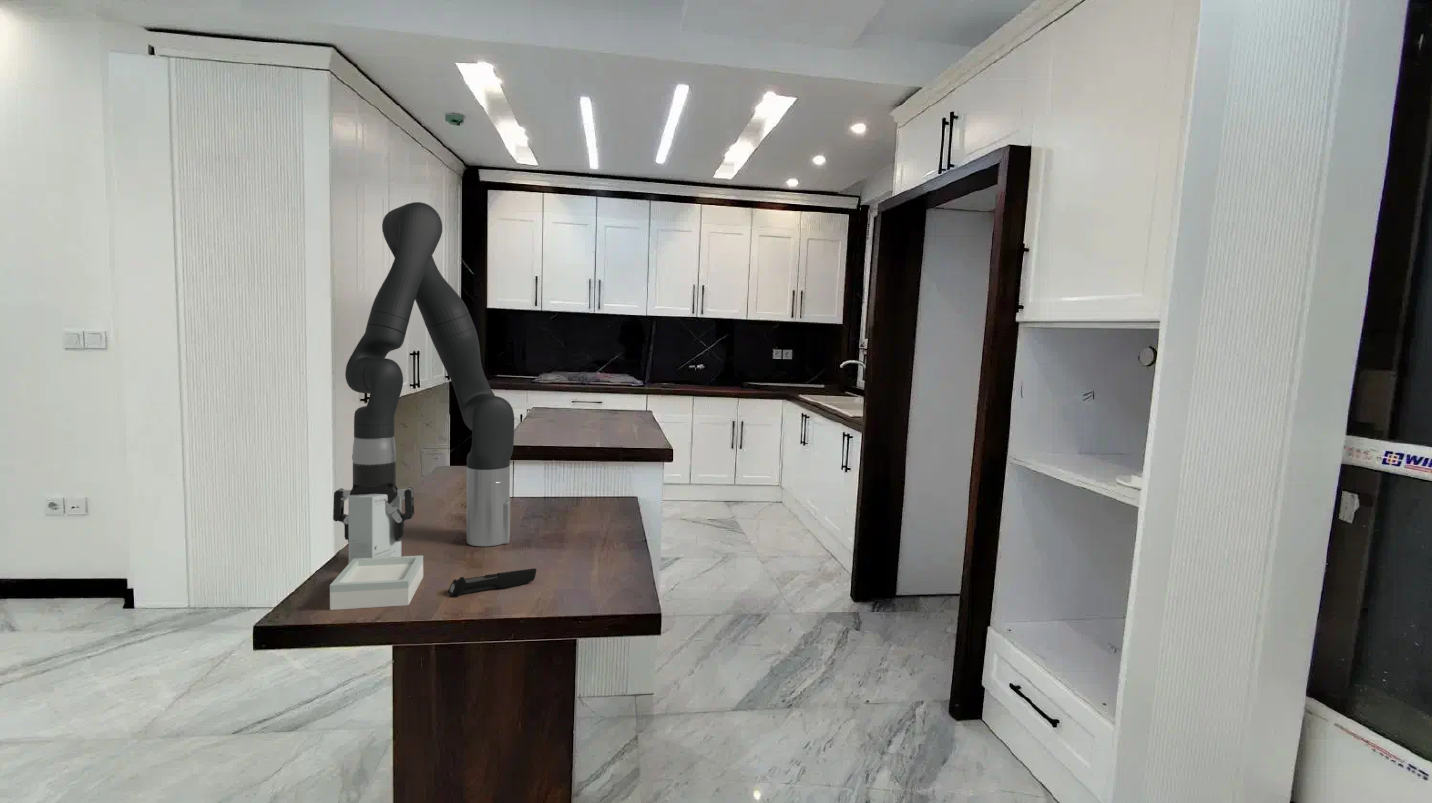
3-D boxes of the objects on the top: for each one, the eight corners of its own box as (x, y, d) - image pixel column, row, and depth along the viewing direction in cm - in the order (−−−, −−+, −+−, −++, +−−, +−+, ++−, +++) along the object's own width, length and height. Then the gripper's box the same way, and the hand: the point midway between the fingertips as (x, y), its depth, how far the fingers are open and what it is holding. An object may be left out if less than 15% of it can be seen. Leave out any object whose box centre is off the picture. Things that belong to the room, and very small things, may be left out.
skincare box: (372, 574, 126) (372, 498, 125) (346, 570, 128) (346, 495, 127) (403, 561, 134) (403, 489, 133) (378, 557, 136) (378, 486, 135)
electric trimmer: (538, 587, 124) (539, 570, 124) (451, 600, 116) (451, 582, 116) (532, 580, 127) (533, 564, 127) (447, 592, 119) (447, 575, 119)
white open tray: (423, 576, 126) (423, 555, 126) (408, 605, 112) (408, 581, 112) (353, 580, 123) (353, 558, 123) (330, 610, 109) (329, 585, 109)
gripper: (417, 456, 135) (417, 534, 136) (339, 456, 131) (340, 536, 132) (410, 462, 127) (409, 545, 129) (327, 463, 124) (328, 547, 125)
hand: (374, 540), depth 131 cm, fingers closed on skincare box, 8 cm apart
